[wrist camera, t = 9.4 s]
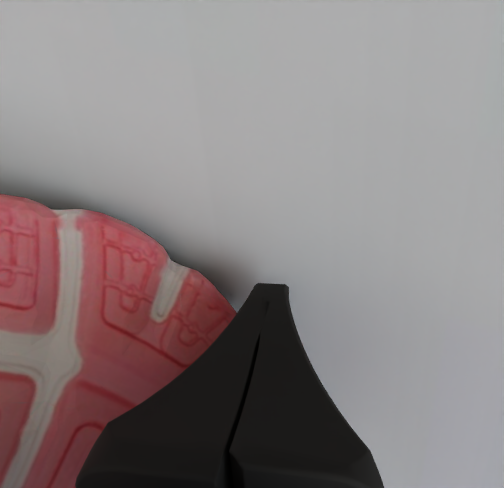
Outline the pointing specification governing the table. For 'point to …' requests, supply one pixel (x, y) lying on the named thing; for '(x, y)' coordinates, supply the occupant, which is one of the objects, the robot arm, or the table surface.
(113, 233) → the athletic shoe
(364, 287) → the table surface
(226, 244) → the table surface
